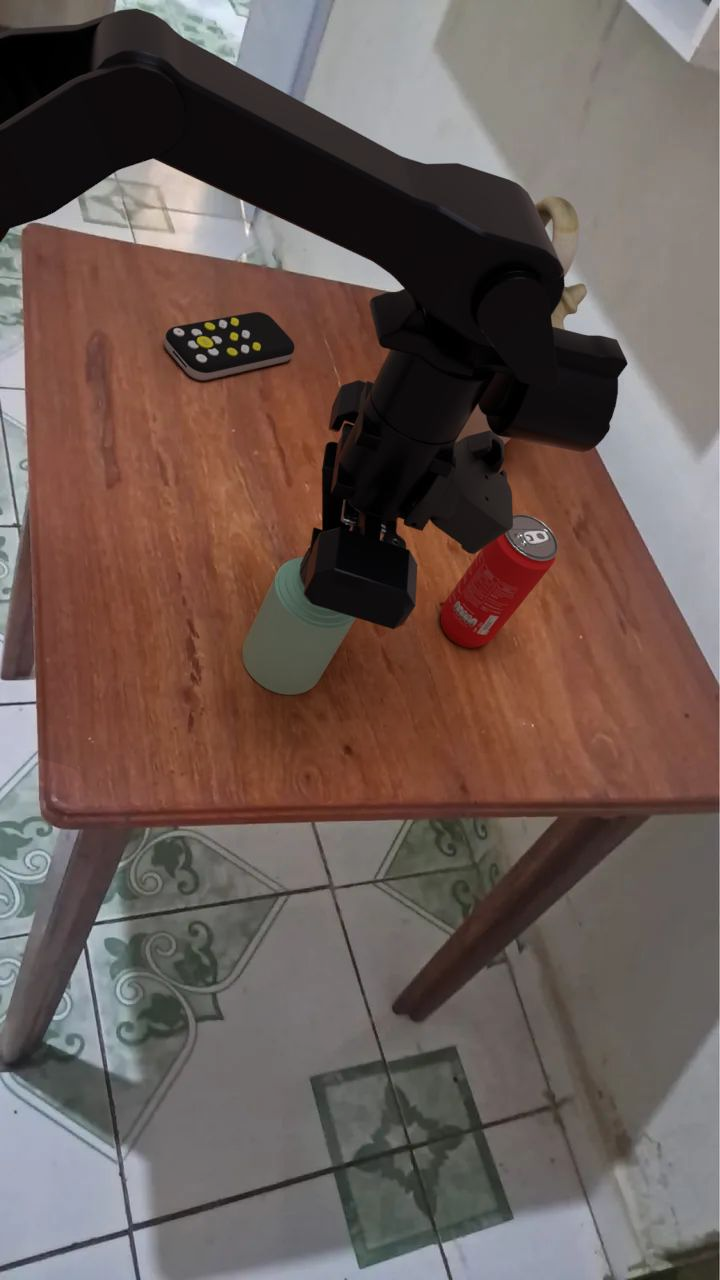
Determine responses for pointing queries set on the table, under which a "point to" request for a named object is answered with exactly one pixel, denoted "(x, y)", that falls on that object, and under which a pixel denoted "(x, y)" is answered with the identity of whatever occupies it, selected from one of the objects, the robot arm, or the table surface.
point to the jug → (572, 295)
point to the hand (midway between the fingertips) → (326, 578)
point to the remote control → (228, 345)
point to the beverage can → (498, 582)
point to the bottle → (292, 636)
